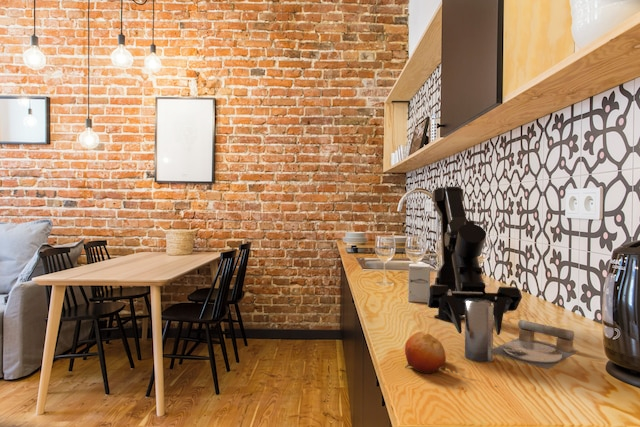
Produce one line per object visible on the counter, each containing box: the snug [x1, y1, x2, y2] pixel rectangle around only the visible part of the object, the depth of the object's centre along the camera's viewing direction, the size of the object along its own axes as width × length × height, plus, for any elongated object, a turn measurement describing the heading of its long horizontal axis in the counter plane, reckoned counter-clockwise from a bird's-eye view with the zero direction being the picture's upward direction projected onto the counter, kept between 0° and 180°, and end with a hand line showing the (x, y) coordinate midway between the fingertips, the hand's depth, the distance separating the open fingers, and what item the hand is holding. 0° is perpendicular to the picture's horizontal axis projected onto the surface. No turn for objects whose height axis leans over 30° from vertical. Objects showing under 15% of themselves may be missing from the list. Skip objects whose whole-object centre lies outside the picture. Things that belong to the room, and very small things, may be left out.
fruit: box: [404, 331, 447, 375], centre depth 78 cm, size 8×8×8 cm
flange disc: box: [502, 340, 563, 364], centre depth 82 cm, size 11×11×1 cm
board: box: [493, 337, 579, 370], centre depth 84 cm, size 16×12×1 cm
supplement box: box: [407, 263, 431, 304], centre depth 137 cm, size 7×7×13 cm
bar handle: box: [517, 319, 575, 353], centre depth 88 cm, size 11×2×4 cm, turn 38°
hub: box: [464, 298, 494, 363], centre depth 80 cm, size 7×7×13 cm
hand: (479, 333), depth 79 cm, fingers open, 7 cm apart
